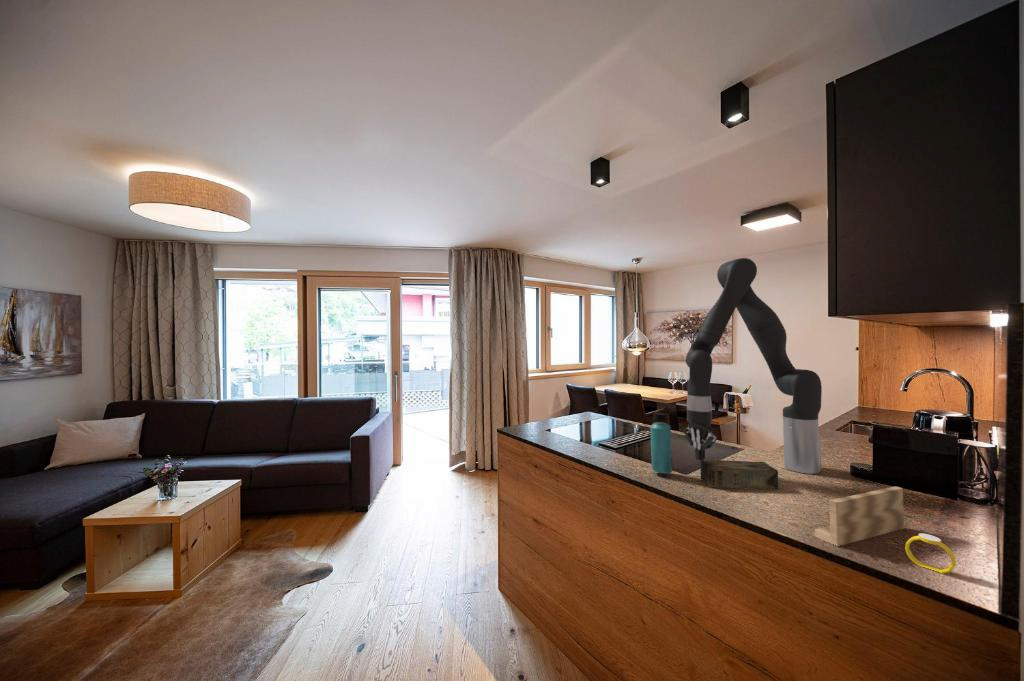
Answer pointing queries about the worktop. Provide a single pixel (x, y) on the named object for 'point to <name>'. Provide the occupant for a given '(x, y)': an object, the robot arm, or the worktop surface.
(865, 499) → the stand
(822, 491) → the worktop surface
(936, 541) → the watch
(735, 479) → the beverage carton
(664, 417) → the beverage bottle
